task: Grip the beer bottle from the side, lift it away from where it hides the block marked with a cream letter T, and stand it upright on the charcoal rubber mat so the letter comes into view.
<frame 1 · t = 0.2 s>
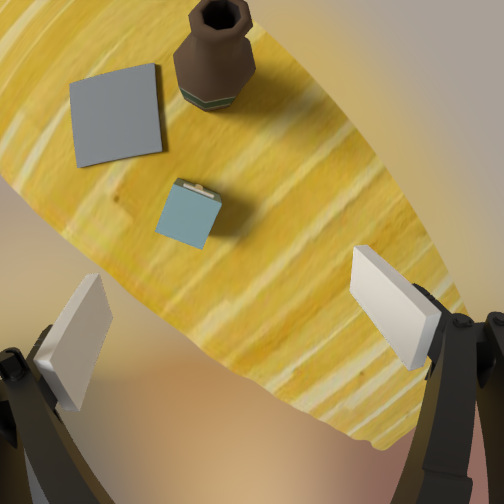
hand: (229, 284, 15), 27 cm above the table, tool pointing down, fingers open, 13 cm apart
letter block: (189, 206, 41), on the table
beer bottle: (211, 84, 35), on the table
mat: (114, 115, 34), on the table
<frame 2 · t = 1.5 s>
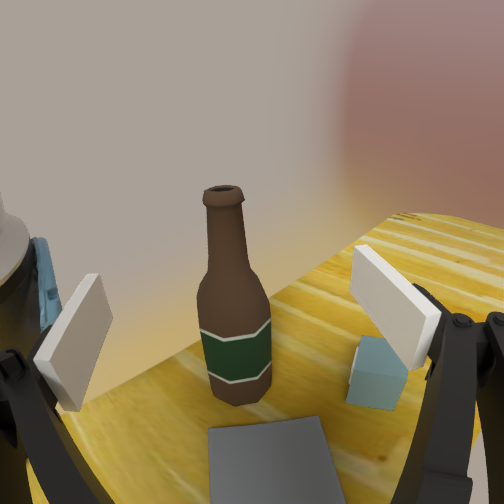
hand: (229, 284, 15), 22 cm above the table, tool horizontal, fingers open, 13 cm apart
letter block: (372, 389, 33), on the table
beer bottle: (240, 385, 36), on the table
mat: (271, 472, 24), on the table
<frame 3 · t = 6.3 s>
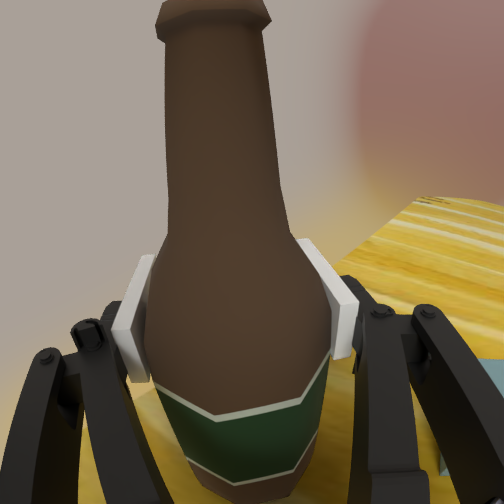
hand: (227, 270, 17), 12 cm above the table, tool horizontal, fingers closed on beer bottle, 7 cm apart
letter block: (473, 442, 15), on the table
beer bottle: (252, 462, 17), on the table, touching gripper
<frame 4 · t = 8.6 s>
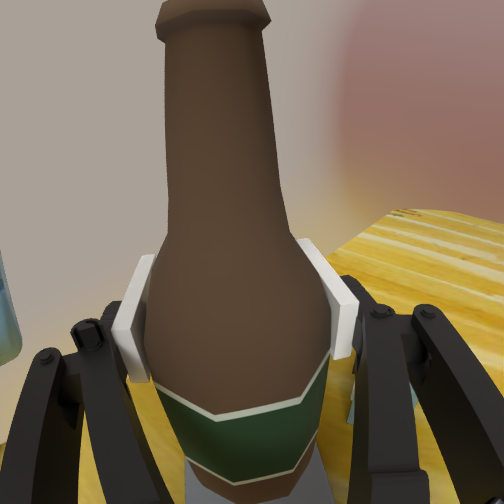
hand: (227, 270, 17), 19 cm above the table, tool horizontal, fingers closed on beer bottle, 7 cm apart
beer bottle: (252, 462, 17), point 7 cm above the table, touching gripper
when the fingers open (14 cm above the table, at t = 10.8 s): beer bottle drops 1 cm, resting on mat.
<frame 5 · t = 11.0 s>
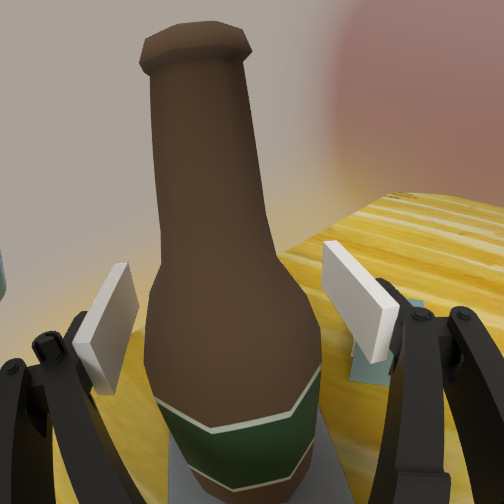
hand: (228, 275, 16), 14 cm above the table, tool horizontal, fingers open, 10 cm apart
letter block: (381, 363, 27), on the table
beer bottle: (253, 469, 17), point 1 cm above the table, touching mat
mat: (253, 472, 18), on the table
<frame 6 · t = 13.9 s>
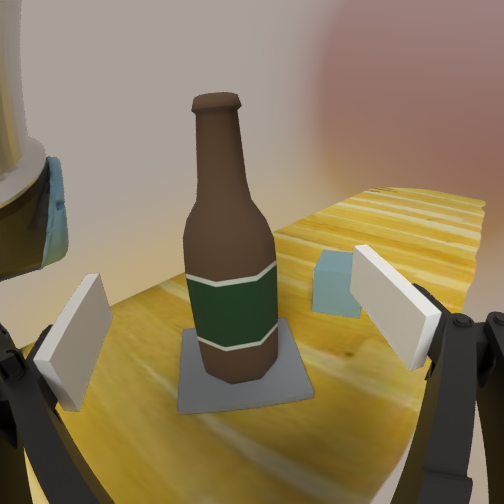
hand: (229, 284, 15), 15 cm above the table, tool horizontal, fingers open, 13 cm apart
letter block: (339, 302, 39), on the table
beer bottle: (239, 360, 30), point 1 cm above the table, touching mat
mat: (239, 364, 30), on the table
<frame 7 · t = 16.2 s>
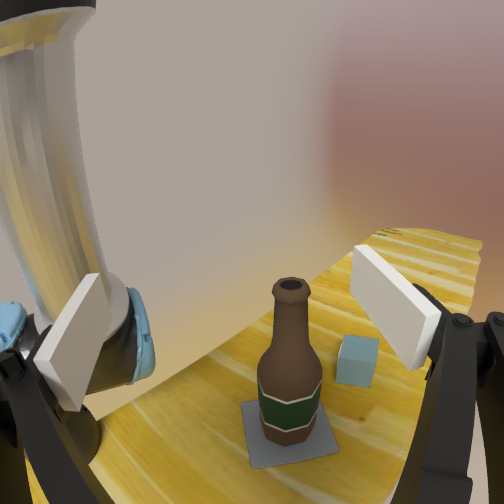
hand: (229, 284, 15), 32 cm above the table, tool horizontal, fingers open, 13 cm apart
letter block: (354, 373, 49), on the table
beer bottle: (287, 427, 39), point 1 cm above the table, touching mat
mat: (287, 429, 39), on the table
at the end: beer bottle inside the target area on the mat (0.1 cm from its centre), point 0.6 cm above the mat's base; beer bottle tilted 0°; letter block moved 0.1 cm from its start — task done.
